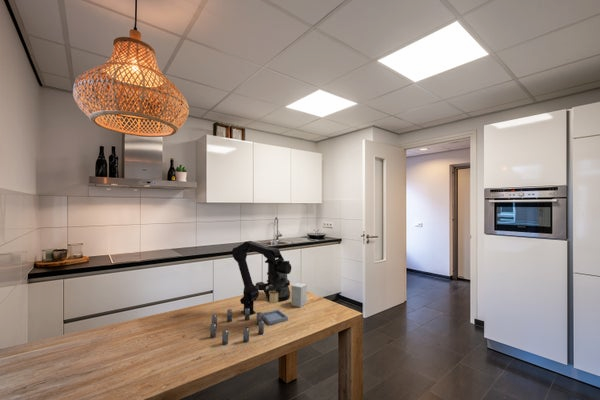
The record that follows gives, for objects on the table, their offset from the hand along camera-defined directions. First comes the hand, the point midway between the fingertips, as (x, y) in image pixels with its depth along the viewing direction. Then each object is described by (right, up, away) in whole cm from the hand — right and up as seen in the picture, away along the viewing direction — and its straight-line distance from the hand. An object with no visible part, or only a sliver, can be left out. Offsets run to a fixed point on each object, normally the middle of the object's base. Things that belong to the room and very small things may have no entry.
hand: (272, 299), depth 147 cm
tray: (+1, -11, +1) cm, 11 cm away
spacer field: (-17, -11, -13) cm, 24 cm away
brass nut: (0, -1, 0) cm, 1 cm away
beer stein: (-1, -11, +34) cm, 36 cm away
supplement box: (+14, -12, +22) cm, 29 cm away
